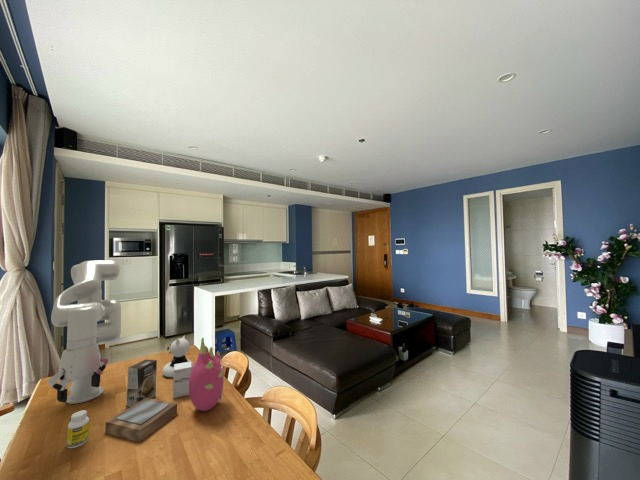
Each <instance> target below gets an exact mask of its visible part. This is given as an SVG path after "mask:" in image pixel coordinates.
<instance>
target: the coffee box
mask: <svg viewBox="0 0 640 480" xmlns="http://www.w3.org/2000/svg"><path fill="white" fill-rule="evenodd" d="M157 362H158V360H156V359H144V360H142V361H139V362H137V363H134V364H132V365H131V366H128V367H127V369H128V370H127V389H126V404H125V405H126V407H129V408H130V407H131V406H133V405H135V404H136V403H138V402H140V401H141V400H143V399H145V398H146V397H147V398H152V399H155V397H156V395H157V369H158V368H157V367H158V366H157V364H158V363H157Z"/></svg>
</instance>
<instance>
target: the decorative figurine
mask: <svg viewBox="0 0 640 480" xmlns="http://www.w3.org/2000/svg"><path fill="white" fill-rule="evenodd" d="M190 345H191V344H190V342H189V340H187V339H186V337H185V334H184V335H183V336H182V337H180V338H178V337H176V339H175V340H173V342H171V344H169V347H166V348H167V351H169V354H170V355H171V356H172V358H171V361H170V362H168V363H166V364H165V365H164V366H163V368H162V371H161V372H162V374H163V376H165V377H168V378H173V376H174V364H179V363H185V362H190V361H191V364H192V368H191V371H192V369H193V366H194V362H193V361H192V360H191V359H189V358H187V357H186V354H188V352H189V351H190V347H191V346H190Z"/></svg>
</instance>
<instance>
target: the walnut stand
mask: <svg viewBox="0 0 640 480" xmlns="http://www.w3.org/2000/svg"><path fill="white" fill-rule="evenodd" d="M177 414H178V403H176V402H171V401H166V400H161V399H156V398H147V397H146V398H145V399H143V400H141V401H140V402H138V403H136V404H135V405H133V406H131V407H130V406H129V407H128V408H126V409H124V410H123V411H121V412H120V413H118V414H116V415H114V416H113V417H111V418H109V419H107V420H106V421H105V431H104V432H105V434H108V435H111V436H114V437H115V436H116V437H118V438H122V439H125V440H130V441H134V442H137V443H141V442H142V441H143V440H144V439H146V438H147V437H148V436H149V435H151V434H153V432H155V431H156V430H157V429H159V428H160V427H162V426H163V425H164V424H165V423H167V422H168V421H169V420H171V419H172V418H174V417H175V416H177Z"/></svg>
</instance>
